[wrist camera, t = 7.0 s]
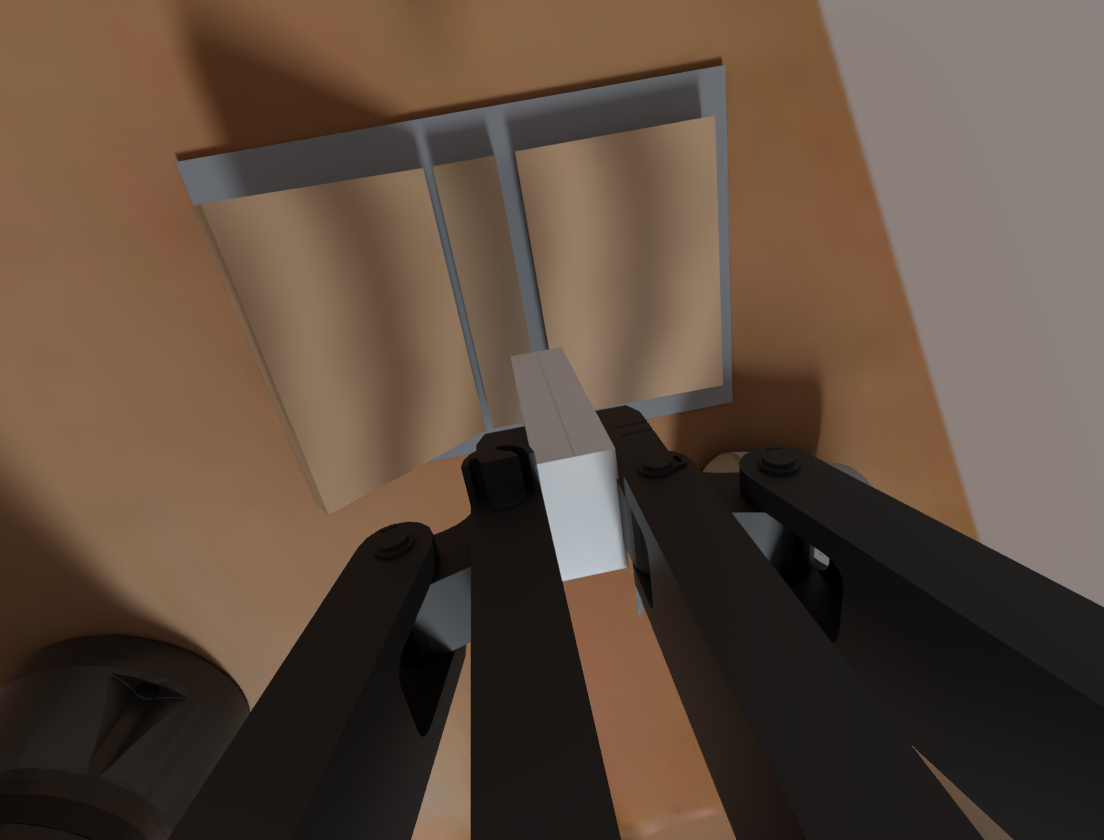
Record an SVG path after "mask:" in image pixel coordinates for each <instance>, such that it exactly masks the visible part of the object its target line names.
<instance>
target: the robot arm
mask: <svg viewBox="0 0 1104 840" xmlns="http://www.w3.org/2000/svg"><path fill="white" fill-rule="evenodd" d="M511 361H512V367H513V372H514V377H515V382H516V388H517V393H518V398H519V403H520V409H521V414H522V419H523V424H524V426H523V427H517V428H512V429H507V430H502V431H497V432H492V433H487V434H484V435H483V437H482V438H481V439H480V441H479V442H478V443H477V445H476V451H475V452H473V453H471V454H470V455H469V456H468V457H467V458H466V459H464V461H463V463H462V466H461V469H462V473H463V477H464V481H465V485H466V489H467V493H468V497H469V501H470V505H471V514H470V515H469V516H468V517H467V518H466V519H465V520H463V521H462V522H460V523H459V524H457V525H455V526H453V527H451V528H449V529H447V530H445V531H442V532H440V533H438V534H435V535H433V533H432V531H431V530H430V528H429V527H428V526H426V525H424V524H422V523H418V522H404V523H398V524H393V525H389V526H388V527H384V528H382V529H380V530H378V531H377V532H375V533H374V534H372V535H371V536H369V537H368V538H366V539H365V541H364V542H363V543H362V544H361V545H360V546H359V547H358V548H357V550H356V551H355V553H354V555H353V556H352V558H351V559H350V561H349V562H348V564H347V565H346V567H345V568H344V570H343V571H342V573H341V574H340V576H339V577H338V579H337V581H336V582H335V584H334V585H333V587H332V588H331V590H330V591H329V593H328V594H327V596H326V597H325V599H324V600H323V602H322V604H321V605H320V607H319V608H318V610H317V611H316V613H315V614H314V616H313V617H312V619H311V620H310V622H309V623H308V625H307V626H306V628H305V630H304V631H303V633H302V634H301V636H300V637H299V639H298V640H297V642H296V643H295V645H294V646H293V648H292V649H291V651H290V653H289V654H288V656H287V657H286V659H285V660H284V662H283V663H282V665H281V666H280V668H279V669H278V671H277V672H276V674H275V675H274V677H273V679H272V680H271V682H270V683H269V685H268V686H267V688H266V689H265V691H264V692H263V694H262V695H261V697H260V698H259V700H258V702H257V703H256V705H255V706H254V708H253V709H252V711H251V712H250V711H249V708H248V705H247V703H246V701H245V699H244V697H243V695H242V694H241V692H240V691H239V689H238V688H237V687H236V686H235V684H234V683H233V682H232V681H231V680H230V679H229V678H228V677H227V676H226V675H224V674H223V673H222V672H221V671H219V670H218V669H217V668H215V667H214V666H213V665H211V664H209V663H208V662H206V661H205V660H203V659H201V658H199V657H197V656H195V655H193V654H191V653H189V652H186V651H184V650H181V649H179V648H176V647H173V646H170V645H166V644H163V643H159V642H155V641H151V640H145V639H139V638H132V637H119V636H99V637H87V638H80V639H74V640H70V641H66V642H62V643H59V644H56V645H53V646H50V647H48V648H45V649H43V650H41V651H39V652H37V653H36V654H34V655H32V656H31V657H29V658H28V659H27V660H25V661H24V662H23V663H22V664H21V665H20V666H19V667H18V668H17V669H16V670H15V671H14V672H13V673H12V674H11V675H10V676H9V677H8V678H7V679H6V680H5V681H4V682H3V684H2V685H1V686H0V840H411V838H412V834H413V831H414V828H415V824H416V821H417V818H418V814H419V811H420V807H421V804H422V801H423V797H424V794H425V791H426V787H427V784H428V780H429V777H430V774H431V770H432V767H433V764H434V760H435V757H436V754H437V750H438V747H439V743H440V740H441V737H442V733H443V730H444V727H445V723H446V720H447V716H448V713H449V710H450V706H451V703H452V700H453V696H454V693H455V689H456V686H457V683H458V679H459V676H460V673H461V669H462V666H463V663H464V659H465V655H466V644H468V643H470V642H471V840H621V837H620V833H619V829H618V824H617V820H616V815H615V811H614V807H613V802H612V798H611V793H610V789H609V785H608V780H607V776H606V771H605V767H604V763H603V758H602V754H601V749H600V745H599V741H598V736H597V732H596V727H595V723H594V719H593V714H592V710H591V705H590V701H589V697H588V692H587V688H586V683H585V679H584V675H583V670H582V666H581V661H580V657H579V653H578V648H577V644H576V639H575V635H574V631H573V626H572V622H571V617H570V613H569V609H568V604H567V600H566V595H565V591H564V587H563V582H562V581H566V580H571V579H575V578H580V577H585V576H589V575H594V574H599V573H604V572H608V571H613V570H618V569H622V568H627V567H629V564H628V556H627V550H628V552H629V555H630V557H631V560H632V562H633V569H634V578H635V587H636V596H637V605H638V614H642V613H644V608H645V610H646V613H647V615H648V618H649V620H650V623H651V625H652V628H653V631H654V633H655V636H656V638H657V641H658V643H659V646H660V648H661V651H662V653H663V656H664V658H665V661H666V663H667V666H668V668H669V671H670V673H671V676H672V678H673V681H674V683H675V686H676V688H677V691H678V694H679V696H680V699H681V701H682V704H683V706H684V709H685V711H686V714H687V716H688V719H689V721H690V724H691V726H692V729H693V731H694V734H695V736H696V739H697V741H698V744H699V746H700V749H701V751H702V754H703V756H704V759H705V762H706V764H707V767H708V769H709V772H710V774H711V777H712V779H713V782H714V784H715V787H716V789H717V792H718V794H719V797H720V799H721V802H722V804H723V807H724V809H725V812H726V814H727V817H728V819H729V822H730V825H731V827H732V830H733V832H734V835H735V837H736V840H984V839H983V837H982V836H981V835H980V833H979V832H978V831H977V830H976V828H975V827H974V826H973V825H972V823H971V822H970V821H969V819H968V818H967V817H966V815H965V814H964V813H963V811H962V810H961V809H960V808H959V806H958V805H957V804H956V803H955V801H954V800H953V799H952V797H951V796H950V795H949V793H948V792H947V791H946V790H945V788H944V787H943V786H942V785H941V783H940V782H939V780H938V779H937V778H936V776H935V775H934V774H933V773H932V771H931V770H930V769H929V767H928V766H927V765H926V764H925V762H924V761H923V760H922V758H921V757H920V756H919V754H918V753H917V752H916V751H915V749H916V750H918V751H919V752H920V753H921V754H922V755H923V756H924V757H925V758H926V759H927V760H928V761H929V762H930V763H932V764H933V765H934V766H935V767H936V768H937V769H938V770H939V771H940V772H941V773H942V774H943V775H944V776H946V777H947V778H948V779H949V780H950V781H951V782H952V783H953V784H954V785H955V786H956V787H957V788H959V789H960V790H961V791H962V792H963V793H964V794H965V795H966V796H967V797H968V798H969V799H970V800H972V801H973V802H974V803H975V804H976V805H977V806H978V807H979V808H980V809H981V810H982V811H984V813H986V814H987V815H988V816H989V817H990V818H991V819H992V820H993V821H994V822H995V823H996V824H997V825H998V826H1000V827H1001V828H1002V829H1003V830H1004V831H1005V832H1006V833H1007V834H1008V835H1009V836H1010V837H1011V838H1013V839H1014V840H1104V607H1102V606H1100V605H1098V604H1096V603H1094V602H1093V601H1091V600H1089V599H1087V598H1085V597H1083V596H1081V595H1079V594H1077V593H1075V592H1073V591H1071V590H1070V589H1067V588H1066V587H1063V586H1062V585H1060V584H1058V583H1056V582H1054V581H1052V580H1050V579H1048V578H1046V577H1045V576H1043V575H1041V574H1039V573H1037V572H1035V571H1033V570H1031V569H1029V568H1027V567H1025V566H1023V565H1021V564H1019V563H1018V562H1016V561H1014V560H1012V559H1010V558H1008V557H1006V556H1004V555H1002V554H1000V553H998V552H996V551H994V550H993V549H991V548H989V547H987V546H985V545H983V544H981V543H979V542H977V541H975V540H973V539H971V538H970V537H968V536H966V535H964V534H962V533H960V532H958V531H956V530H954V529H952V528H950V527H948V526H946V525H945V524H943V523H941V522H939V521H937V520H935V519H933V518H931V517H929V516H927V515H925V514H923V513H921V512H920V511H918V510H916V509H914V508H912V507H910V506H908V505H906V504H904V503H902V502H900V501H898V500H896V499H894V498H893V497H891V496H889V495H887V494H885V493H883V492H881V491H879V490H877V489H875V488H873V487H871V486H869V485H868V484H866V483H864V482H862V481H860V480H858V479H856V478H854V477H852V476H850V475H848V474H846V473H844V472H843V471H841V470H839V469H837V468H835V467H833V466H831V465H829V464H827V463H825V462H823V461H821V460H819V459H818V458H816V457H814V456H812V455H810V454H808V453H805V452H802V451H800V450H797V449H792V448H786V447H782V446H774V447H772V446H769V447H764V448H760V449H755V450H752V451H750V452H748V453H747V454H745V455H743V457H742V458H741V460H740V461H739V472H730V473H712V472H702V471H699V469H698V468H697V467H696V466H695V464H694V463H693V462H692V461H691V460H690V459H689V458H687V457H686V456H685V455H682V454H679V453H676V452H673V451H668V450H667V448H666V447H665V446H664V444H663V443H662V441H661V440H660V439H659V437H658V436H657V434H656V433H655V432H654V431H653V430H652V427H651V426H650V425H649V423H647V421H646V419H645V418H644V416H643V415H642V414H641V412H640V411H638V410H636V409H634V408H631V407H629V406H627V405H623V406H618V407H613V408H607V409H602V410H597V411H595V410H594V408H593V406H592V404H591V402H590V400H589V398H588V396H587V394H586V393H585V391H584V389H583V387H582V385H581V383H580V381H579V379H578V377H577V376H576V374H575V372H574V370H573V368H572V366H571V364H570V362H569V360H568V359H567V357H566V355H565V353H564V351H563V349H562V347H559V348H554V349H548V350H543V351H538V352H532V353H527V354H521V355H516V356H511ZM815 548H816V549H817V550H819V551H820V552H822V553H823V554H825V555H826V556H827V557H828V558H829V565H828V566H827V565H825V564H823V563H822V562H820V561H819V560H817V559H816V558H815V557H814V551H815ZM912 746H913V747H914V748H915V749H914V748H913V747H912Z"/></svg>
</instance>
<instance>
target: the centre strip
mask: <svg viewBox="0 0 1104 840" xmlns="http://www.w3.org/2000/svg"><path fill="white" fill-rule="evenodd" d="M432 167H433V171H434V176H435V180H436V184H437V188H438V193H439V197H440V201H441V205H442V210H443V214H444V218H445V223H446V227H447V231H448V235H449V240H450V244H451V248H452V253H453V257H454V261H455V265H456V270H457V274H458V278H459V283H460V287H461V291H462V295H463V300H464V304H465V308H466V313H467V317H468V321H469V325H470V330H471V334H472V338H473V342H474V347H475V351H476V355H477V360H478V364H479V368H480V372H481V377H482V381H483V385H484V390H485V394H486V398H487V402H488V407H489V411H490V415H491V420H492V424H493V428H499V427H504V426H509V425H514V424H519V423H523V419H522V414H521V409H520V403H519V398H518V393H517V388H516V382H515V377H514V372H513V367H512V361H511V356H516V355H521V354H527V353H532V349H531V344H530V339H529V333H528V328H527V322H526V317H525V312H524V306H523V301H522V296H521V290H520V285H519V280H518V274H517V269H516V264H515V258H514V253H513V248H512V242H511V237H510V231H509V226H508V221H507V215H506V210H505V205H504V199H503V194H502V189H501V183H500V178H499V173H498V167H497V162H496V157H495V155H493V156H488V157H482V158H476V159H471V160H465V161H460V162H454V163H449V164H443V165H437V166H432Z"/></svg>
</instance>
